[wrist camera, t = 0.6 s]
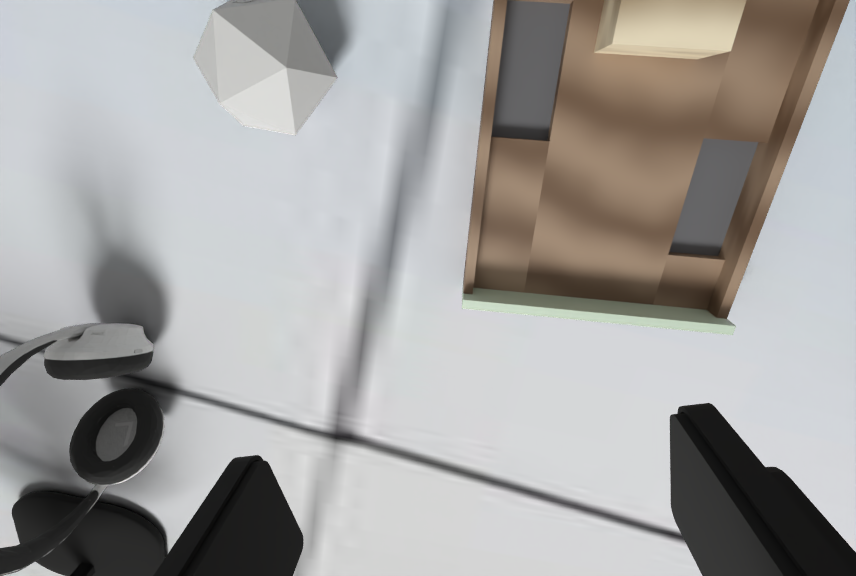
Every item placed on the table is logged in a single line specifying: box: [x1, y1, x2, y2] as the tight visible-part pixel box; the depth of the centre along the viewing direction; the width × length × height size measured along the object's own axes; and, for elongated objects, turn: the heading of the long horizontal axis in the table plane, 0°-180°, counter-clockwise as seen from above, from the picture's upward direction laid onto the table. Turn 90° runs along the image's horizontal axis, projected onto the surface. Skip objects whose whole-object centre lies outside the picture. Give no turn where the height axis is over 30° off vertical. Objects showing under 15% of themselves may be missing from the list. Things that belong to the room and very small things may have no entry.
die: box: [193, 0, 338, 135], centre depth 29 cm, size 8×9×10 cm
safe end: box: [462, 288, 736, 335], centre depth 36 cm, size 1×22×4 cm, turn 86°
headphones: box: [0, 323, 165, 576], centre depth 36 cm, size 19×8×20 cm, turn 173°
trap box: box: [463, 0, 850, 319], centre depth 30 cm, size 30×22×3 cm
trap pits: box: [491, 0, 758, 256], centre depth 32 cm, size 17×20×1 cm
